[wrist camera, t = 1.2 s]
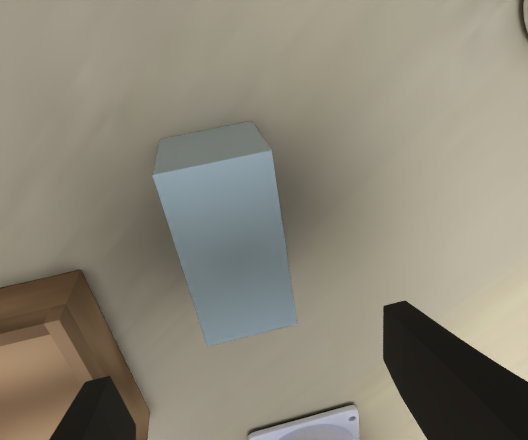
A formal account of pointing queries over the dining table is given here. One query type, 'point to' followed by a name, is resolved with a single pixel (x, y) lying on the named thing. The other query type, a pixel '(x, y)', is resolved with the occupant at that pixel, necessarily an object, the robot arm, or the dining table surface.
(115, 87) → the dining table surface
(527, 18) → the pill bottle
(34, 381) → the brown wooden tray
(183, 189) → the blue-grey rectangular block
